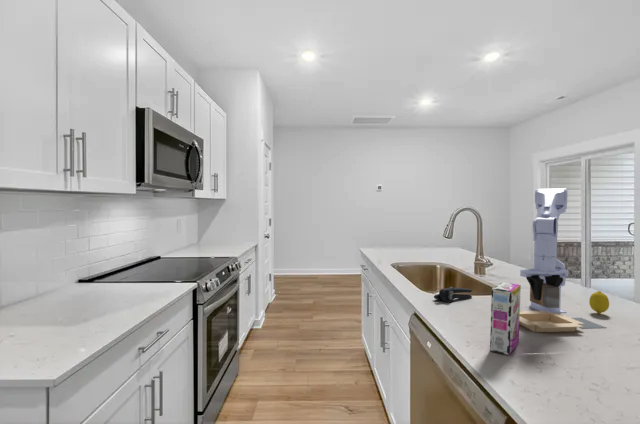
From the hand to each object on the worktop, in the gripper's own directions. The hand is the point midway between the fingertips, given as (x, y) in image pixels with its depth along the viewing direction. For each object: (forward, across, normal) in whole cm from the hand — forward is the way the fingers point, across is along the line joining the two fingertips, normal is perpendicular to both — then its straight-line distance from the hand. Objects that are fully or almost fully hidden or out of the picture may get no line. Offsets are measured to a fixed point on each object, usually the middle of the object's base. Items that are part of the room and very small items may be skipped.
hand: (543, 299), depth 115 cm
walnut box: (+2, 0, 0) cm, 2 cm away
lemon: (+9, +29, +12) cm, 32 cm away
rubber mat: (+8, +14, +2) cm, 16 cm away
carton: (+8, 0, 0) cm, 8 cm away
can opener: (+9, -13, +33) cm, 37 cm away
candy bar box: (+9, -22, -16) cm, 28 cm away
